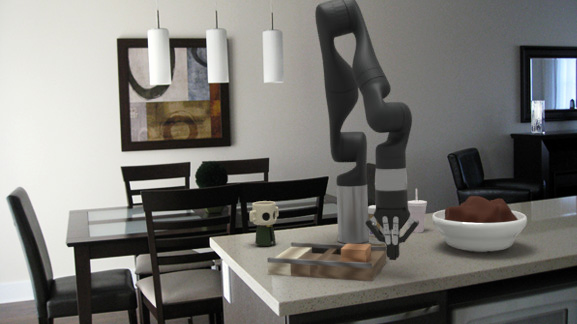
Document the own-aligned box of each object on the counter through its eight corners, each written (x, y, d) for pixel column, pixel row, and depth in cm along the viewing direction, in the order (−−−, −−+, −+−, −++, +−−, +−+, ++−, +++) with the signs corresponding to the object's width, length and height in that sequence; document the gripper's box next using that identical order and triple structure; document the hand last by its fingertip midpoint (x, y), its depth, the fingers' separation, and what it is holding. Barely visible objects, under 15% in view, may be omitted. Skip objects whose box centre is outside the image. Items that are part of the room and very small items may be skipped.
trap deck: (386, 261, 150) (386, 246, 150) (371, 281, 133) (371, 264, 133) (292, 256, 159) (292, 242, 159) (268, 274, 143) (267, 258, 142)
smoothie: (405, 233, 184) (404, 189, 183) (409, 229, 190) (408, 186, 189) (426, 233, 182) (425, 189, 181) (429, 229, 188) (428, 187, 187)
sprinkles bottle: (365, 255, 158) (364, 206, 156) (374, 251, 161) (373, 204, 160) (380, 257, 155) (379, 207, 154) (389, 253, 158) (387, 205, 157)
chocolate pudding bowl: (414, 245, 167) (413, 193, 166) (484, 235, 176) (484, 186, 175) (471, 264, 144) (470, 205, 143) (548, 252, 153) (548, 196, 152)
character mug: (258, 250, 168) (256, 206, 167) (244, 246, 174) (242, 204, 173) (286, 243, 175) (285, 201, 174) (272, 240, 181) (270, 199, 180)
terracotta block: (371, 258, 142) (370, 244, 142) (365, 264, 137) (365, 250, 136) (347, 257, 144) (347, 243, 144) (341, 263, 139) (340, 248, 138)
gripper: (421, 185, 137) (423, 256, 138) (367, 185, 142) (369, 254, 143) (417, 189, 130) (419, 264, 131) (360, 189, 135) (362, 261, 136)
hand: (392, 259), depth 137 cm, fingers closed
